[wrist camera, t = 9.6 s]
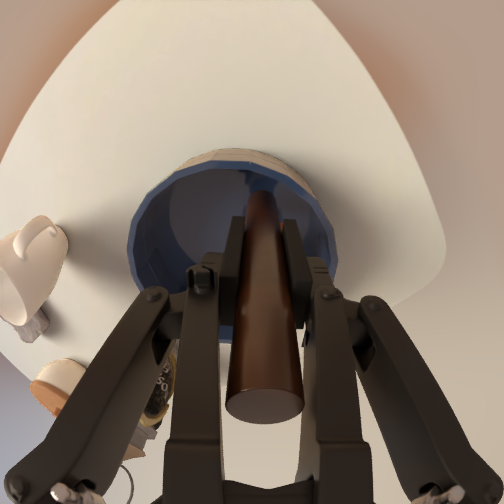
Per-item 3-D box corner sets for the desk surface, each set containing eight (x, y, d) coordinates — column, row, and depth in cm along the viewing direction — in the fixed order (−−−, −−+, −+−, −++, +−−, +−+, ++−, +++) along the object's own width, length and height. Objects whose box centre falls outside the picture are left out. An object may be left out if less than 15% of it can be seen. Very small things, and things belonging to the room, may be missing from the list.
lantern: (163, 317, 33) (102, 514, 11) (195, 358, 37) (163, 532, 15) (115, 330, 35) (48, 490, 13) (147, 366, 39) (104, 515, 17)
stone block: (14, 257, 32) (-6, 288, 33) (-1, 271, 28) (-19, 303, 29) (62, 310, 37) (37, 335, 38) (51, 329, 33) (28, 352, 34)
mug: (68, 280, 31) (22, 338, 21) (27, 239, 29) (-26, 287, 19) (106, 219, 27) (44, 279, 17) (56, 170, 24) (-17, 210, 14)
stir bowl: (333, 155, 24) (354, 170, 18) (309, 308, 32) (316, 346, 27) (144, 149, 24) (115, 162, 18) (161, 299, 32) (146, 335, 27)
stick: (277, 190, 23) (312, 387, 7) (275, 217, 24) (297, 424, 8) (247, 188, 23) (223, 385, 7) (246, 216, 24) (226, 422, 8)
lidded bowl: (39, 347, 40) (14, 389, 30) (79, 347, 38) (52, 398, 28) (74, 388, 46) (56, 428, 36) (117, 392, 44) (100, 440, 34)
